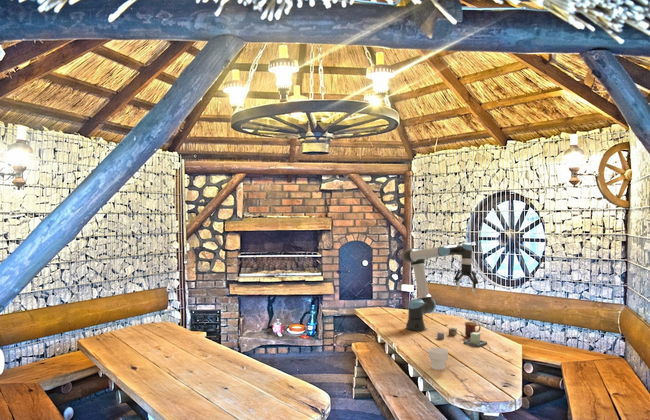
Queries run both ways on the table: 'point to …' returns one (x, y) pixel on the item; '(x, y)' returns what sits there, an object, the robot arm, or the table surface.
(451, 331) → the walnut block
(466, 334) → the mug
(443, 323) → the table surface
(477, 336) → the sage brick
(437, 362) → the cup
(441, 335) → the rubber puck
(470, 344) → the tray
